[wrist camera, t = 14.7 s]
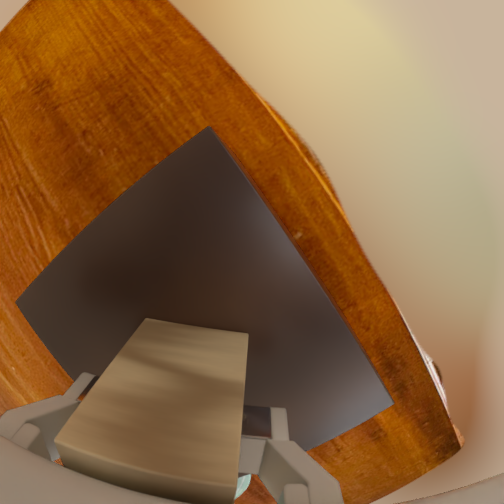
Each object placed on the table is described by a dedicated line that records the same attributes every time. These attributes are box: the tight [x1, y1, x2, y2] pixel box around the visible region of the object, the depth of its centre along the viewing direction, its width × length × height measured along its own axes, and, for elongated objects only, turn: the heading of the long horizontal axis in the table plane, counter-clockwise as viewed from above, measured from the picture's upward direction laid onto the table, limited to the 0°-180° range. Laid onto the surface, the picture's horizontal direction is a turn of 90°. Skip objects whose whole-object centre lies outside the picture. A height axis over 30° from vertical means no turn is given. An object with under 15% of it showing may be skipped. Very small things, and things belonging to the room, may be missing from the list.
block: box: [54, 318, 249, 504], centre depth 9 cm, size 4×4×7 cm
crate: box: [15, 126, 394, 478], centre depth 17 cm, size 14×12×10 cm
